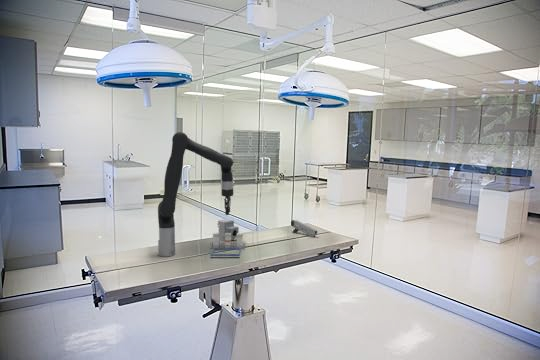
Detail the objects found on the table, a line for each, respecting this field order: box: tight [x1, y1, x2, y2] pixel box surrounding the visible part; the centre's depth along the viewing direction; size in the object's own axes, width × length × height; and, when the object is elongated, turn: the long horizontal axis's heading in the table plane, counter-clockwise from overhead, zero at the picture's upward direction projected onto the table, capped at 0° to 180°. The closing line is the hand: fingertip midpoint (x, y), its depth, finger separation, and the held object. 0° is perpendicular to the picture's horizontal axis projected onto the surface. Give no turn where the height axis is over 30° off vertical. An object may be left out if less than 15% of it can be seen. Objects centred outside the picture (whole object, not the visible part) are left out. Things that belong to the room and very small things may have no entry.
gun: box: [290, 219, 318, 238], centre depth 266 cm, size 2×25×10 cm, turn 44°
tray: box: [210, 248, 242, 259], centre depth 215 cm, size 17×13×2 cm
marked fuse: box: [225, 233, 232, 248], centre depth 226 cm, size 4×4×9 cm
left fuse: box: [212, 232, 220, 248], centre depth 226 cm, size 4×4×9 cm
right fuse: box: [236, 232, 244, 248], centre depth 226 cm, size 4×4×9 cm
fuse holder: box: [209, 240, 246, 250], centre depth 226 cm, size 22×9×5 cm, turn 91°
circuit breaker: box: [217, 218, 240, 242], centre depth 242 cm, size 8×14×15 cm, turn 53°
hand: (227, 213), depth 225 cm, fingers open, 8 cm apart
